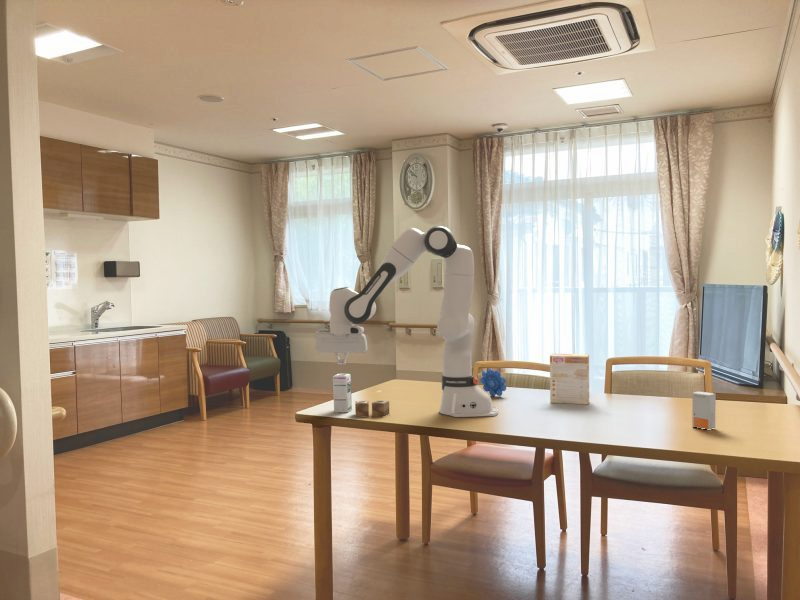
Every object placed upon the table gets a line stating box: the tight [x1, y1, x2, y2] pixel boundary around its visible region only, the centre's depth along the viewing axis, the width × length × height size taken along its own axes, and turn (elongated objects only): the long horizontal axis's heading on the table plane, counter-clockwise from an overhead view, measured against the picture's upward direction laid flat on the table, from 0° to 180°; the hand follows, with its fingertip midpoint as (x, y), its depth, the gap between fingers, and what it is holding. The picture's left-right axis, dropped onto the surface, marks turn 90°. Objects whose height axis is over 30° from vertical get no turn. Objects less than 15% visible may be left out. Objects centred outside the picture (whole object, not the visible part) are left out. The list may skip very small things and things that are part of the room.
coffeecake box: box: [549, 353, 590, 405], centre depth 265 cm, size 15×7×20 cm, turn 69°
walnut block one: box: [354, 400, 370, 417], centre depth 247 cm, size 5×5×5 cm
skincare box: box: [691, 391, 717, 429], centre depth 218 cm, size 6×4×12 cm
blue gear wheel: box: [479, 368, 507, 397], centre depth 280 cm, size 12×7×12 cm, turn 64°
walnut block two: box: [371, 400, 390, 417], centre depth 247 cm, size 5×5×5 cm
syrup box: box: [332, 372, 353, 413], centre depth 255 cm, size 6×6×14 cm
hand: (341, 364), depth 254 cm, fingers closed
